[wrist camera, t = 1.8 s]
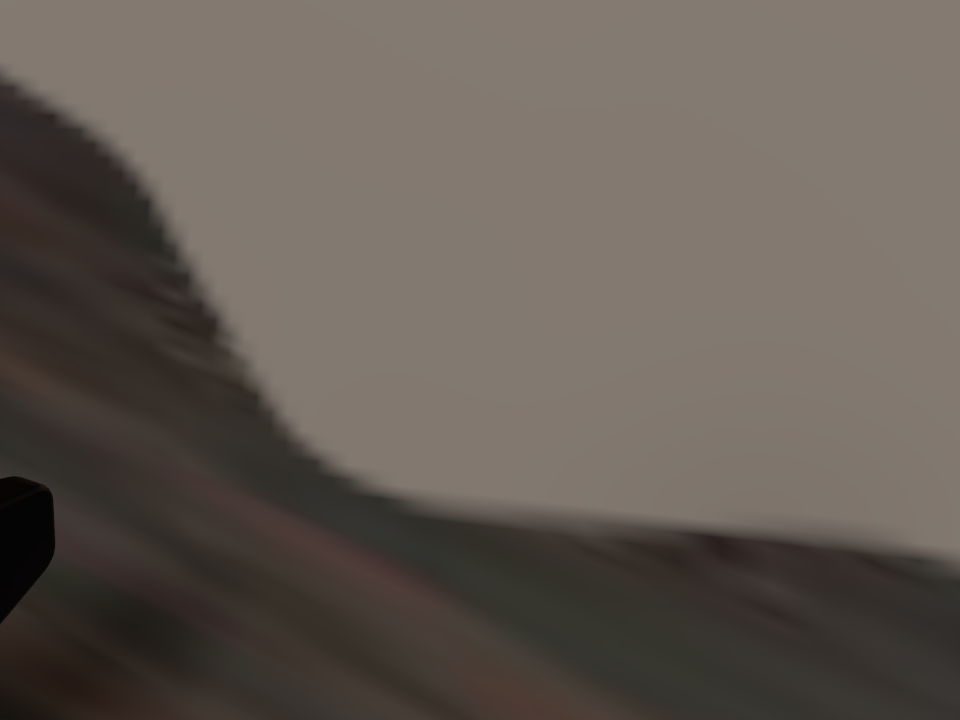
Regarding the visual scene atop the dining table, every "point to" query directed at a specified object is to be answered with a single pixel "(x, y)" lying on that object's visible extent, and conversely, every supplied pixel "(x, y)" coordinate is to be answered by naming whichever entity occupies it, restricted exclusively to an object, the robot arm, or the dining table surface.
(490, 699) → the dining table surface
